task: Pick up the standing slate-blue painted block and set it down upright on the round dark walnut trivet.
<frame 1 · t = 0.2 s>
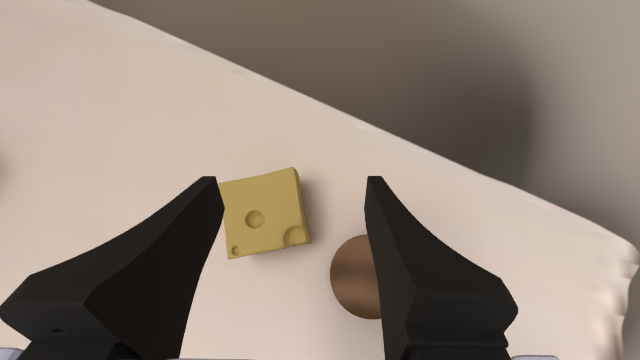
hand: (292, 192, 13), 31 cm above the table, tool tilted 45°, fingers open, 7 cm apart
trivet: (369, 274, 43), on the table
cheese: (273, 216, 44), on the table
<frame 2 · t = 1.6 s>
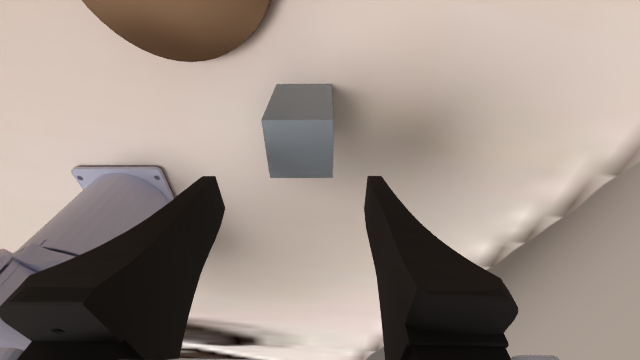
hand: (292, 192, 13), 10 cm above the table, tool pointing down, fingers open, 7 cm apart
block: (305, 110, 21), on the table
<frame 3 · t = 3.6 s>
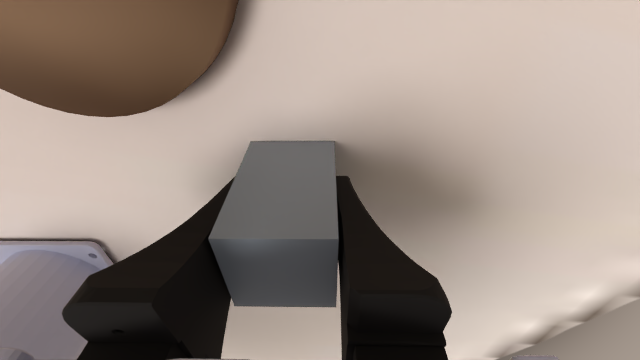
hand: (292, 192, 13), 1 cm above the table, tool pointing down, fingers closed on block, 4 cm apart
block: (295, 175, 14), on the table, touching gripper
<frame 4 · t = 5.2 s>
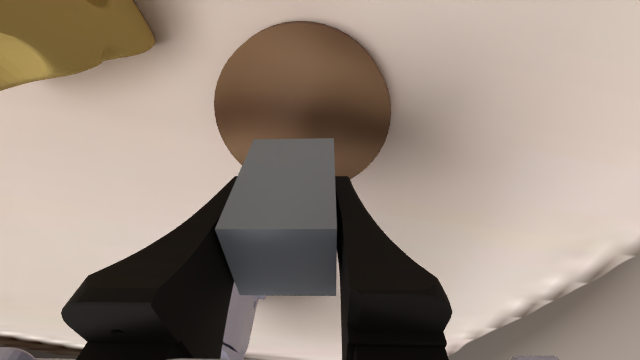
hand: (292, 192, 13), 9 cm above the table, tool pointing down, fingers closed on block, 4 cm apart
block: (296, 171, 15), point 7 cm above the table, touching gripper
trivet: (304, 114, 20), on the table
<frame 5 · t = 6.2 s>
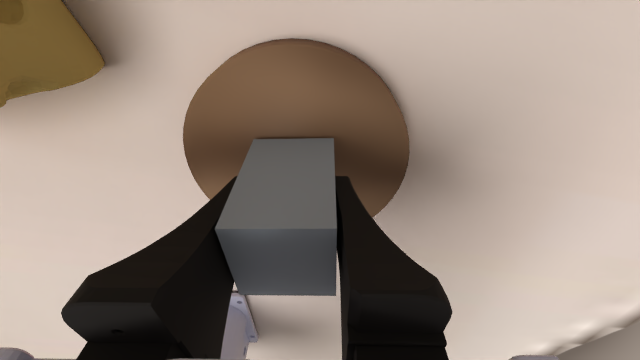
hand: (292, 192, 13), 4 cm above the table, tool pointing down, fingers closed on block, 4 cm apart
block: (296, 171, 15), point 2 cm above the table, touching gripper
trivet: (299, 151, 16), on the table
when the fingers open (4 cm above the table, at t = 6.9 s): block stays where it is, resting on trivet.
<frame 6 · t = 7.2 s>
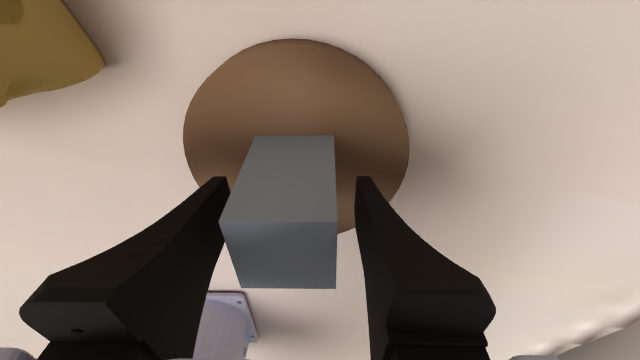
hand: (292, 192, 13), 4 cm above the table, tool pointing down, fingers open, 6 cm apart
block: (297, 168, 15), point 1 cm above the table, touching trivet
trivet: (299, 151, 16), on the table
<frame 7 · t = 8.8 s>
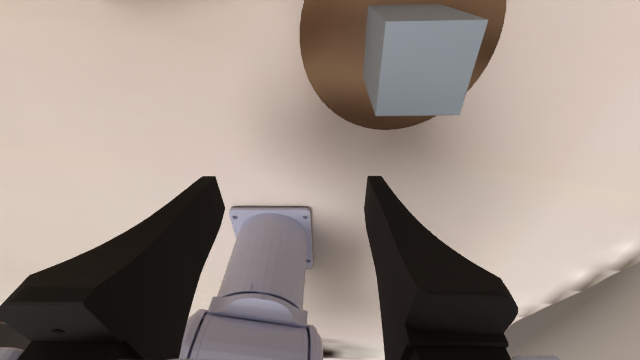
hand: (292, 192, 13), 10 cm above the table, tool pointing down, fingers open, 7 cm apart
block: (398, 43, 17), point 1 cm above the table, touching trivet
trivet: (393, 35, 18), on the table
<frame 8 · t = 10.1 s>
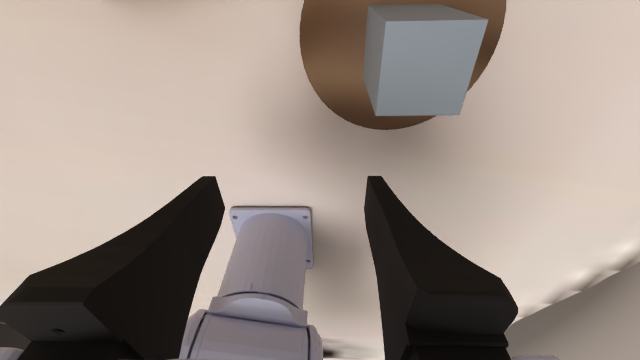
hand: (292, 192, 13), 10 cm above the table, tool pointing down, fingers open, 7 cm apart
block: (398, 43, 17), point 1 cm above the table, touching trivet
trivet: (393, 35, 18), on the table
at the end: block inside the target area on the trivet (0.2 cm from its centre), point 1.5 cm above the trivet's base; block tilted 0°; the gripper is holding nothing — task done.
